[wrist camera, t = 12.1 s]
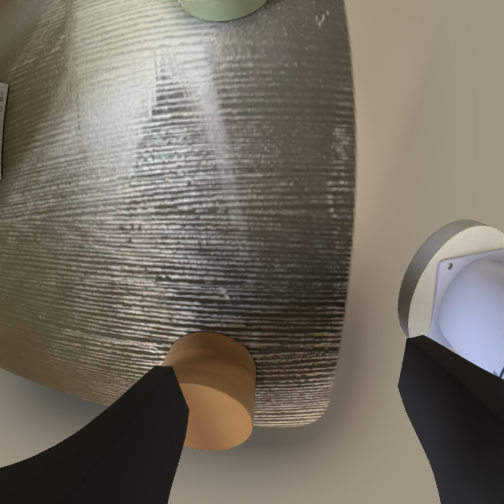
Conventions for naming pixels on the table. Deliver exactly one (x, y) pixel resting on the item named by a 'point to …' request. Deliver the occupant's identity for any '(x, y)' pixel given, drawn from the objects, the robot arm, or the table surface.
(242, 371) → the stand
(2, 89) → the white product box
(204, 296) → the table surface
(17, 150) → the table surface
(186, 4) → the jar
